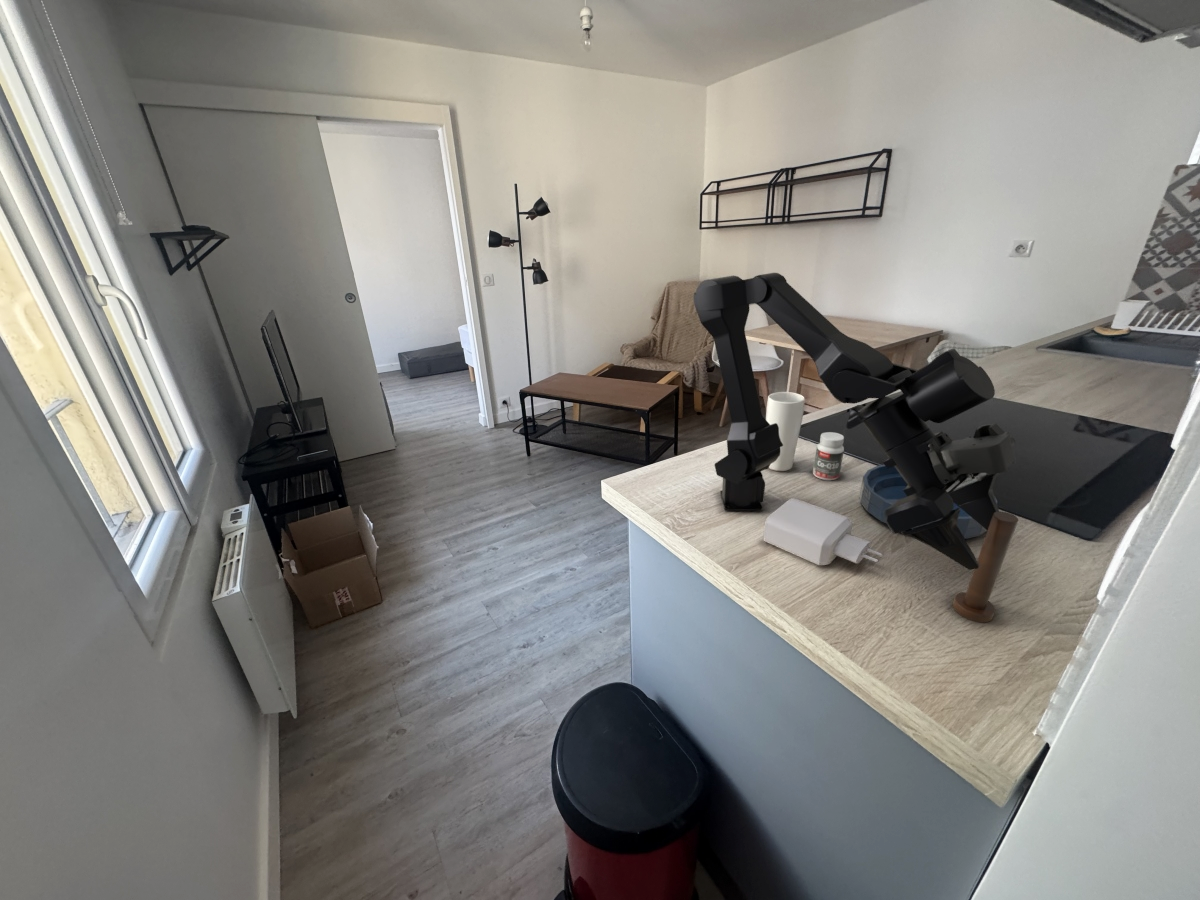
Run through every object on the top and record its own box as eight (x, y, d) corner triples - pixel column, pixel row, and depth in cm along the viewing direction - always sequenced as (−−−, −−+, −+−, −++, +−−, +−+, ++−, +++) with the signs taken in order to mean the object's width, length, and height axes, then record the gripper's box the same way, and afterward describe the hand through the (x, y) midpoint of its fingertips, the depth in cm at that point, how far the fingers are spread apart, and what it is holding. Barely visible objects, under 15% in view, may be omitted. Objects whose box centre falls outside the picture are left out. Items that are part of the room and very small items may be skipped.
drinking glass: (799, 474, 93) (808, 403, 86) (763, 473, 94) (769, 402, 88) (793, 459, 98) (801, 391, 92) (759, 458, 100) (765, 391, 94)
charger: (863, 589, 63) (762, 543, 73) (888, 557, 69) (791, 519, 79) (870, 560, 61) (765, 518, 71) (895, 530, 67) (794, 495, 77)
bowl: (887, 543, 72) (893, 518, 70) (843, 484, 88) (847, 463, 86) (1017, 544, 69) (1027, 518, 68) (947, 484, 86) (953, 462, 84)
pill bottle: (812, 479, 91) (818, 439, 87) (812, 468, 94) (818, 430, 91) (839, 482, 89) (847, 442, 85) (838, 471, 93) (845, 432, 89)
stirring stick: (964, 622, 57) (998, 526, 51) (945, 598, 61) (975, 507, 55) (1000, 623, 57) (1038, 526, 51) (979, 599, 60) (1012, 507, 54)
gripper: (938, 431, 47) (1045, 571, 44) (1001, 388, 57) (1092, 500, 53) (848, 474, 56) (931, 593, 53) (916, 430, 66) (989, 528, 63)
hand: (989, 551), depth 55 cm, fingers open, 9 cm apart
